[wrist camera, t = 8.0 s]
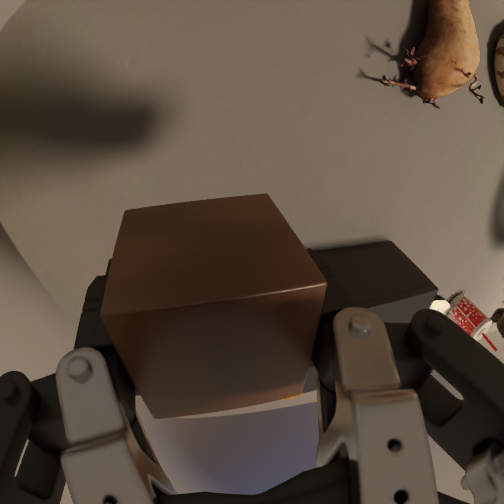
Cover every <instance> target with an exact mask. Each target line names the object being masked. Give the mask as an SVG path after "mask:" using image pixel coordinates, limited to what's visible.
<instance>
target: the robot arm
mask: <svg viewBox="0 0 504 504" xmlns="http://www.w3.org/2000/svg"><path fill="white" fill-rule="evenodd" d="M306 251H307V252H308V254H309V255H310V257H311V258H312V260H313V261H314V263H315V264H316V266H317V267H318V269H319V270H320V272H321V274H322V275H323V277H324V278H325V280H326V281H327V286H326V291H325V296H324V301H323V306H322V311H321V316H320V320H319V325H318V330H317V334H316V338H315V343H314V347H313V351H312V356H311V360H310V364H309V368H311V367H315V368H316V370H317V373H318V377H317V381H316V387H317V403H318V423H319V443H318V448H317V456H316V468H314V469H311V470H308V471H304V472H302V473H300V474H298V475H296V476H295V477H293V478H291V479H289V480H287V481H285V482H283V483H281V484H279V485H277V486H275V487H273V488H271V489H269V490H267V491H265V492H263V493H260V494H257V495H240V494H223V493H212V492H198V493H187V494H177V493H176V491H175V489H174V487H173V486H172V484H171V482H170V480H169V479H168V477H167V476H166V474H165V473H164V471H163V469H162V468H161V466H160V464H159V462H158V460H157V458H156V456H155V453H154V451H153V449H152V447H151V444H150V442H149V440H148V438H147V435H146V433H145V430H144V428H143V426H142V423H141V421H140V418H139V416H138V413H137V412H136V409H135V396H136V395H140V394H139V392H138V390H137V388H136V387H135V385H134V383H133V381H132V379H131V377H130V376H129V374H128V372H127V370H126V368H125V366H124V364H123V362H122V360H121V358H120V356H119V354H118V352H117V350H116V348H115V346H114V344H113V342H112V340H111V338H110V335H109V333H108V331H107V329H106V327H105V324H104V322H103V320H102V318H101V315H100V314H101V308H102V303H103V297H104V293H105V288H106V283H107V278H108V274H109V269H110V265H111V261H112V258H111V259H110V260H109V263H108V267H107V271H106V275H103V276H97V277H96V278H95V279H94V280H93V282H92V283H91V284H90V286H89V287H88V289H87V293H86V297H85V302H84V305H83V309H82V310H83V312H82V313H81V317H80V322H79V326H78V331H77V336H76V341H75V346H74V350H72V351H70V352H69V353H67V354H66V355H65V356H64V357H63V358H62V359H61V360H60V362H59V364H58V366H57V369H56V373H54V374H52V375H49V376H46V377H43V378H41V379H38V380H35V381H32V382H30V380H29V379H28V378H27V377H26V376H25V375H24V374H23V373H21V372H18V371H10V372H7V373H5V374H3V375H2V376H1V377H0V504H60V501H61V497H62V493H63V490H64V486H65V483H66V482H67V485H68V488H69V491H70V495H71V498H72V501H73V504H469V503H466V502H464V501H461V500H458V499H456V498H453V497H450V496H448V495H446V494H443V493H441V492H438V491H437V486H436V480H435V473H434V468H433V463H432V456H431V451H430V446H429V441H428V437H427V434H428V435H429V436H430V437H431V438H432V439H433V440H434V441H435V442H436V443H437V444H438V445H439V446H440V447H441V448H443V450H444V451H445V452H446V453H447V454H448V455H449V456H450V457H451V458H452V459H453V460H455V461H456V463H458V464H459V465H460V466H461V467H462V468H463V469H464V470H465V475H464V476H463V477H462V480H461V486H462V488H463V489H465V490H470V491H471V492H472V494H473V497H474V504H504V364H503V363H502V362H501V361H500V360H499V359H497V358H496V357H495V356H494V355H493V354H492V353H490V352H489V351H488V350H487V349H486V348H485V347H483V346H482V345H481V344H480V343H479V342H478V341H476V340H475V339H474V338H473V337H472V336H470V335H469V334H468V333H467V332H465V331H464V330H463V329H462V328H461V327H459V326H458V325H457V324H456V323H454V322H453V321H452V320H451V319H449V318H448V317H447V316H446V315H444V314H443V313H441V312H439V311H436V310H433V309H421V310H419V311H417V312H416V313H415V314H414V315H413V317H412V319H411V321H410V323H387V322H383V321H382V319H381V318H380V317H379V316H378V315H377V314H376V313H374V312H372V311H371V310H368V309H365V308H361V307H358V306H357V305H356V303H355V302H354V300H353V299H352V297H351V296H350V295H349V293H348V292H347V290H346V289H345V287H344V286H343V284H342V283H341V282H340V280H339V279H338V277H336V274H335V273H334V271H333V270H332V269H330V266H329V264H328V263H327V262H326V260H325V259H324V257H323V256H322V255H320V254H319V253H317V252H316V251H314V250H313V249H311V248H309V249H306ZM433 370H436V371H437V372H438V373H439V374H440V375H441V376H442V377H443V378H444V379H445V380H447V381H448V382H449V383H450V384H451V385H452V386H453V387H454V388H455V389H456V390H457V391H459V392H460V393H461V395H462V396H463V398H464V400H460V399H457V398H456V397H454V395H452V394H451V393H450V392H449V391H448V390H447V389H446V388H445V387H444V386H443V385H442V384H440V383H439V382H438V381H437V380H436V379H435V378H434V377H433V376H432V375H431V373H432V371H433ZM27 439H28V440H29V442H28V445H27V447H26V450H25V453H24V456H23V458H22V461H21V464H20V467H19V470H18V473H17V476H16V477H15V471H16V468H17V465H18V462H19V459H20V456H21V454H22V451H23V449H24V446H25V443H26V441H27Z"/></svg>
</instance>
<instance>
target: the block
mask: <svg viewBox="0 0 504 504" xmlns="http://www.w3.org/2000/svg"><path fill="white" fill-rule="evenodd" d="M326 286H327V281H326V280H325V278H324V277H323V275H322V274H321V272H320V270H319V269H318V267H317V266H316V264H315V263H314V261H313V260H312V258H311V257H310V255H309V254H308V252H307V251H306V249H305V248H304V246H303V245H302V243H301V242H300V240H299V239H298V237H297V236H296V234H295V233H294V231H293V230H292V228H291V227H290V225H289V224H288V223H287V221H286V220H285V218H284V217H283V215H282V214H281V212H280V211H279V209H278V208H277V207H276V205H275V204H274V202H273V201H272V199H271V198H270V196H269V195H268V194H257V195H246V196H236V197H226V198H216V199H207V200H199V201H190V202H182V203H174V204H166V205H159V206H151V207H144V208H137V209H131V210H126V211H125V212H124V215H123V219H122V222H121V226H120V230H119V233H118V237H117V241H116V245H115V249H114V253H113V257H112V261H111V265H110V269H109V274H108V278H107V283H106V288H105V293H104V297H103V303H102V308H101V314H100V315H101V318H102V320H103V322H104V324H105V327H106V329H107V331H108V333H109V335H110V338H111V340H112V342H113V344H114V346H115V348H116V350H117V352H118V354H119V356H120V358H121V360H122V362H123V364H124V366H125V368H126V370H127V372H128V374H129V376H130V377H131V379H132V381H133V383H134V385H135V387H136V388H137V390H138V392H139V394H140V395H141V397H142V399H143V401H144V402H145V404H146V406H147V407H148V409H149V411H150V413H151V414H152V416H153V417H154V419H160V418H171V417H180V416H189V415H197V414H204V413H211V412H218V411H224V410H230V409H236V408H242V407H247V406H252V405H257V404H262V403H267V402H272V401H276V400H281V399H285V398H289V397H293V396H297V395H301V394H302V391H303V387H304V384H305V380H306V376H307V372H308V368H309V364H310V360H311V356H312V351H313V347H314V343H315V338H316V334H317V330H318V325H319V320H320V316H321V311H322V306H323V301H324V296H325V291H326Z"/></svg>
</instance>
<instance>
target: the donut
mask: <svg viewBox="0 0 504 504" xmlns="http://www.w3.org/2000/svg"><path fill="white" fill-rule="evenodd" d="M494 69H495V78H496V82H497V86H498V89H499V92H500V97H501V99H502V101H503V102H504V34H503V35H501V36H500V37H499V41H498V44H497V46H496V50H495V57H494Z"/></svg>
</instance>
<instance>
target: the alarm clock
mask: <svg viewBox="0 0 504 504" xmlns="http://www.w3.org/2000/svg"><path fill="white" fill-rule="evenodd" d="M496 315H498V316H499V317H500V318H499V319H498V320H497V321H494V322H496V323H497V328H498V330H499V332H500V333H501V335H502V337H503V338H504V313H503V314H502V315H500V314H498V313H497V312H496Z"/></svg>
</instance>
